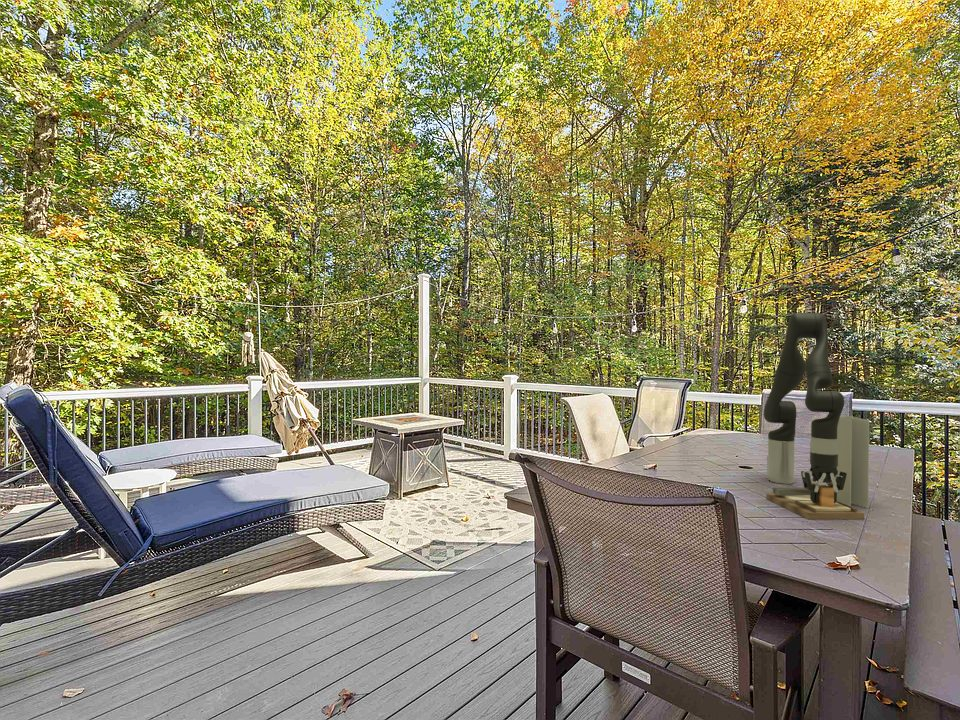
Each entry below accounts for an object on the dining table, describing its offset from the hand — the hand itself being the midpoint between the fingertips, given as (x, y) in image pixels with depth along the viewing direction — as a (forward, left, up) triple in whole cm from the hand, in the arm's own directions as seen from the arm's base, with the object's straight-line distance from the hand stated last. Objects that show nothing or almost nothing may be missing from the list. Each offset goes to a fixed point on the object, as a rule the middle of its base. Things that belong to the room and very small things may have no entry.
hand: (823, 502), depth 159 cm
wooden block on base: (0, 0, -2) cm, 2 cm away
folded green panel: (-12, +18, -4) cm, 22 cm away
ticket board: (-5, 0, -4) cm, 6 cm away
